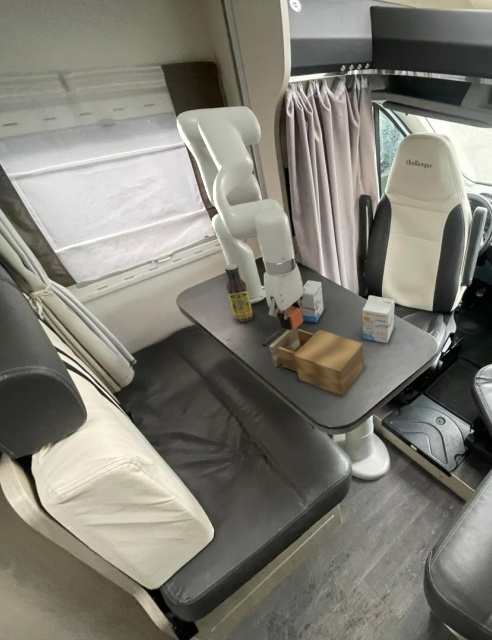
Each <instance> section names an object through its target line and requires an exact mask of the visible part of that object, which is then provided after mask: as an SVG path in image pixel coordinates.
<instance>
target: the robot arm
mask: <svg viewBox="0 0 492 640" xmlns="http://www.w3.org/2000/svg"><path fill="white" fill-rule="evenodd" d="M176 126H177V129H178V132H179V134H180V138H182V140H183V142H184V144H185V145H186V147H187V148H188V150H189V151H190V153H191V154H192V156H193V158H194V159H195V162H196V163H197V166H198V169H199V172H200V175H201V179H202V182H203V185H204V188H205V192H206V194H207V197H208V199H209V202H210V204H211V205H212V206H213V207H215V209H216V210H217V213H216V214H215V215H214V216H213V217H212V218H211V226H212V229H213V233H214V234H215V237H216V238H217V240H218V242H219V244H220V247H221V250H222V253H223V256H224V259H225V262H226V265H228V264H236V265H238V268H239V275H240V278H241V279H242V280H243V281H244V282H245V283H246V288H247V291H248V295H249V299H250V304H251V305H254V304H257V303H260V302H261V301H263V300H264V299H266V304H267V306H268V308H269V310H268V316H269V317H271V318H272V317H273V318H278V319H279V324H280V328H282V329H284V330H286V331H287V330H291V329H292V328H291V323H290V318H289V317H288V314H287V308H288V307H290V306H294V307H297V308H302V302H301V301H302V298H303V294H304V292H305V288H304V287H303V286H304V285H303V280H302V276H301V275H302V274H301V271H300V268H299V266H298V264H297V262H296V256H295V255H296V254H295V250H294V245H293V238H292V233H291V228H290V227H291V226H290V220H289V216H288V214H287V213H286V212H285V210H284V208H283V206H282V205H281V203H279V201H277V200H276V199H274V198H265V199H263V195H262V191H261V187H260V184H259V182H258V179H257V177H256V176H255V175H254V173H253V172H254V161H253V158H252V157H251V155H250V154H249V153H250V152H249V151H248V149H247V148H246V146H251V145H257V144H259V143H260V142H261V139H262V130H261V126H260V123H259V120H258V118H257V116H256V114H255V113H254V112H253V111H252V109H250V108H249V107H248V106H244V105H239V106H224V107H223V106H222V107H214V108H212V107H211V108H199V109H191V110H186V111H183V112H181V113H179V114H178V115H177V117H176ZM255 237H257V240H258V244H259V248H260V252H261V257H262V262H263V265H264V269H265V272H264V273H263V285H262V283H261V279H260V275H259V271H258V266H257V264H256V259H255V255H254V251H253V250H252V248H251V246H250V245H248V244H247V243H246V242H245V241H243V240H247V239H250V238H255ZM281 311H283V314H282V313H281Z"/></svg>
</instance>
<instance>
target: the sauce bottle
mask: <svg viewBox="0 0 492 640" xmlns="http://www.w3.org/2000/svg"><path fill="white" fill-rule="evenodd" d="M224 270H225V273H226V276H227V283H226V286H225V287H226V290H227V295H228V299H229V303H230V306H231V311H232V313H233V316H234V319H235V321H236V322H239V323H246V322H249V321H252V319H253V316H254V314H253V308H252V304H250V299H249V295H248V291H247V288H246V283H245V282H244V281H243V280H242V279H241V278H240V275H239V268H238V265H236V264H228V265H227V264H226V265H225V266H224Z"/></svg>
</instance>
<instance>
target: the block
mask: <svg viewBox="0 0 492 640" xmlns="http://www.w3.org/2000/svg"><path fill="white" fill-rule="evenodd" d="M281 313H282V314H283V311H281ZM287 314H288V317H289V318H290V323H291V328H292V330H295V329H296V328H297V329H298V327H300V325H302V323H304V321H303V313H302V307H300V308H297V307H294V306H290V307H288V308H287Z"/></svg>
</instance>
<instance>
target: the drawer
mask: <svg viewBox="0 0 492 640" xmlns="http://www.w3.org/2000/svg"><path fill="white" fill-rule="evenodd" d="M314 334H315V333H313V332H310V331H307V330H304V329H300V328H298V327H297V328H296V329H295V330H292V329H291V330H287V329H286V330H285V332H281V331H280V330H279V329H277V330H275V331H274V332H273V333H272V334H271V335H270V336H269V337H268V338H266V339H265V340H264V341H263V342H261V345H262V347H264V348H266V347H267V348H269V351H270V355H271V359H272V363H273V365H274V367H275V368H278V367H280V365H281V366H282V367H283V368H285V369H288V370H291V371H292V372H296V373H298V372H297V367H296V363H295V358H294V354H295V353H296V352H297V351H298V350H299V349H300V348H301V347H302V346H303V345H304V344H305V343H306V342H307V341H308V340H309V339H310V338H311V337H312V336H313V335H314ZM277 337H278V338H277ZM276 338H277V339H276ZM275 339H276V340H275ZM271 342H272V343H271ZM270 343H271V344H270Z"/></svg>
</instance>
